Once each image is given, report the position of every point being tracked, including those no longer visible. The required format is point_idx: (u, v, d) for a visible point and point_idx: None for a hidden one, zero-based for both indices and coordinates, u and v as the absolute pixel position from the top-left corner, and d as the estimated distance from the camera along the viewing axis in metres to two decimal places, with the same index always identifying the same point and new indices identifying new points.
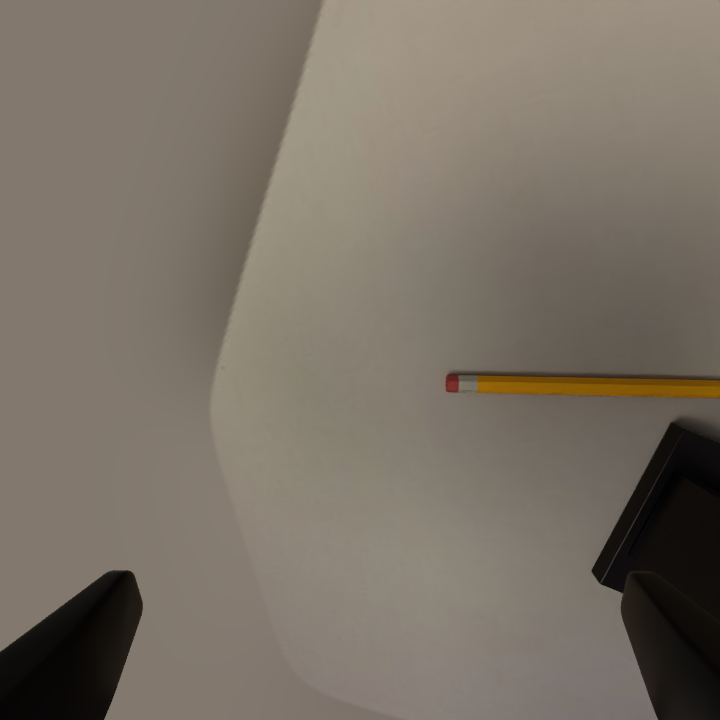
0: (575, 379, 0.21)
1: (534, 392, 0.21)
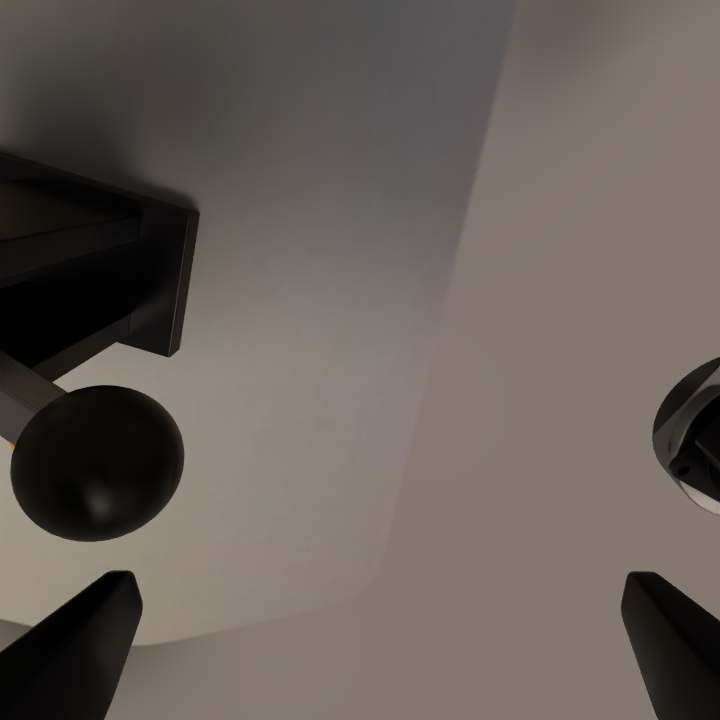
0: None
1: None
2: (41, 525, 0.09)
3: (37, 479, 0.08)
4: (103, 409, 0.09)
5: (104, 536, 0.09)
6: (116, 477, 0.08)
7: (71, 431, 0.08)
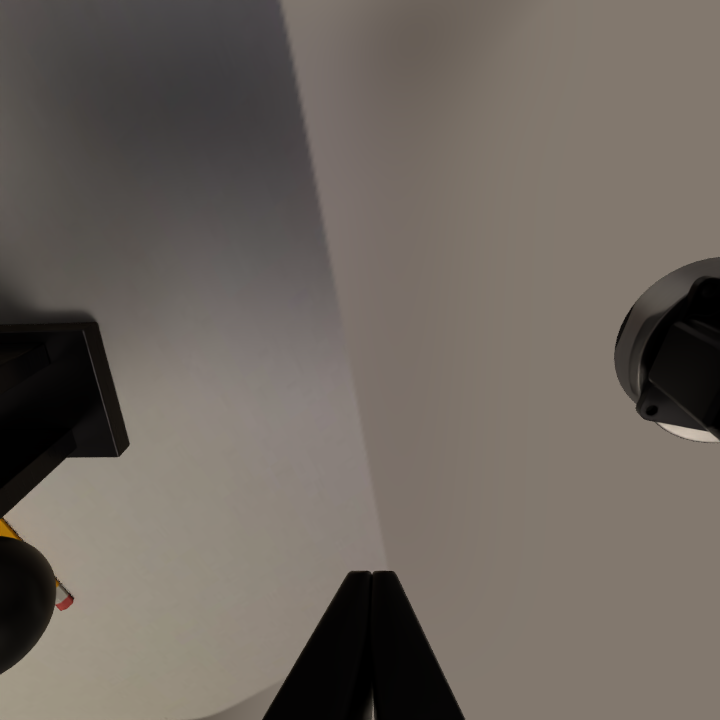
0: None
1: None
2: None
3: None
4: None
5: None
6: None
7: None
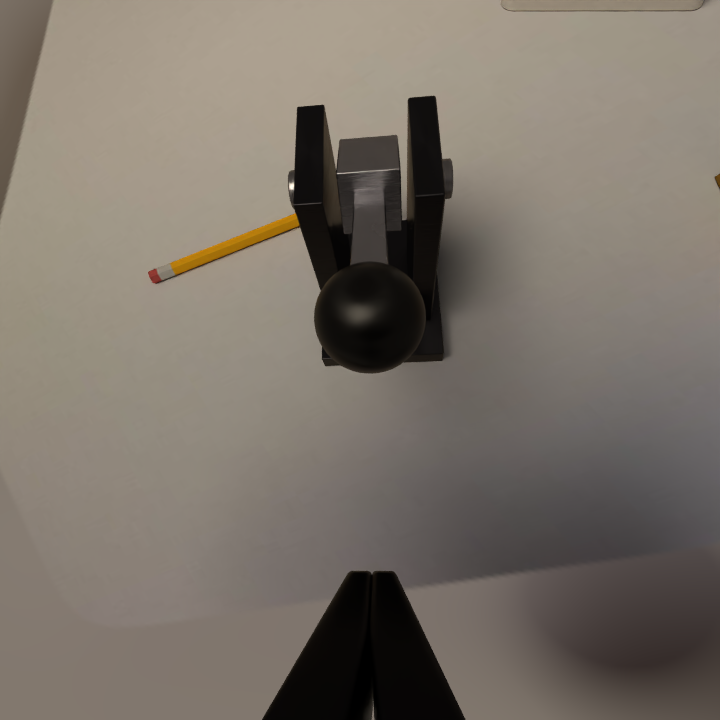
0: None
1: (214, 253, 0.27)
2: (343, 284, 0.12)
3: (382, 278, 0.12)
4: None
5: (339, 325, 0.12)
6: (395, 326, 0.12)
7: (415, 294, 0.12)
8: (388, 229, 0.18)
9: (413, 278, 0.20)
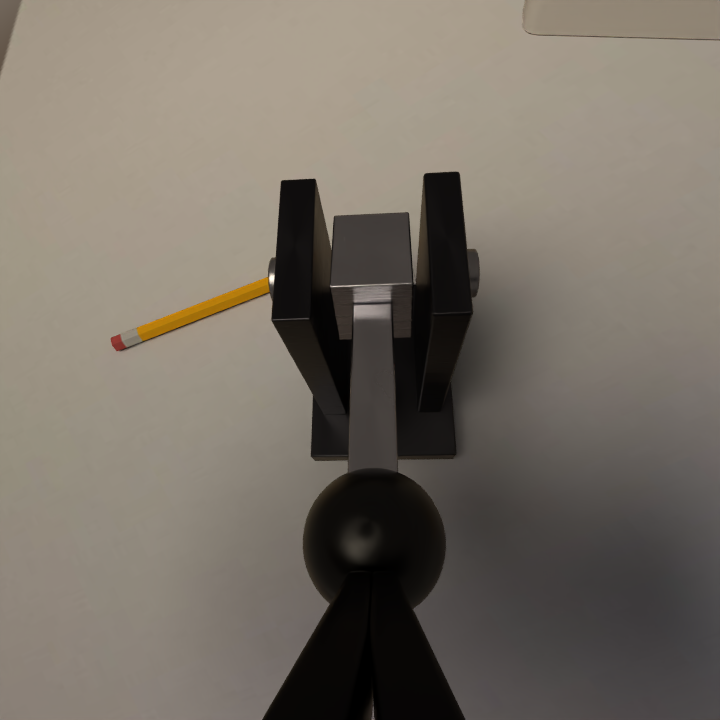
0: None
1: (188, 316, 0.23)
2: (340, 536, 0.09)
3: (393, 529, 0.09)
4: None
5: (335, 591, 0.09)
6: (408, 595, 0.09)
7: (433, 540, 0.09)
8: (395, 336, 0.14)
9: (423, 381, 0.17)
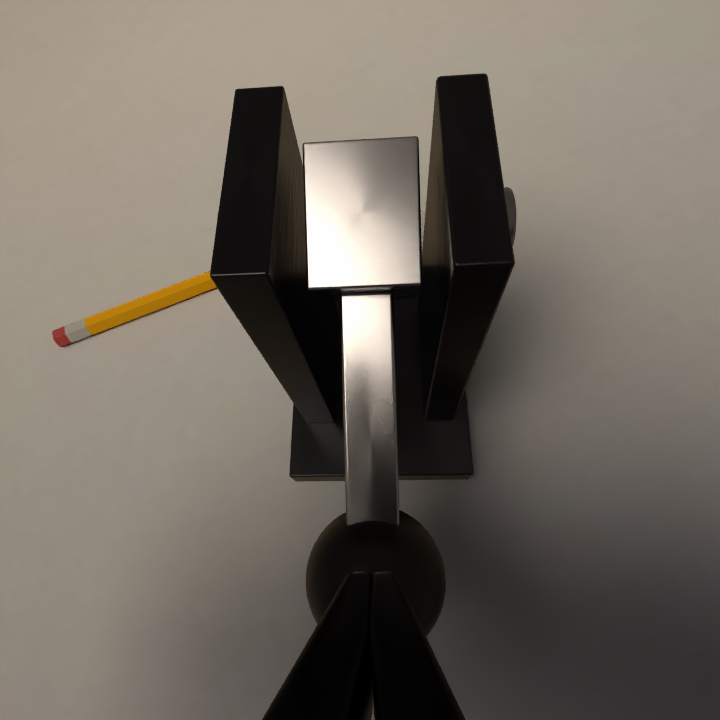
0: None
1: (146, 305, 0.20)
2: None
3: None
4: None
5: None
6: None
7: (435, 608, 0.09)
8: (395, 299, 0.11)
9: (433, 377, 0.12)
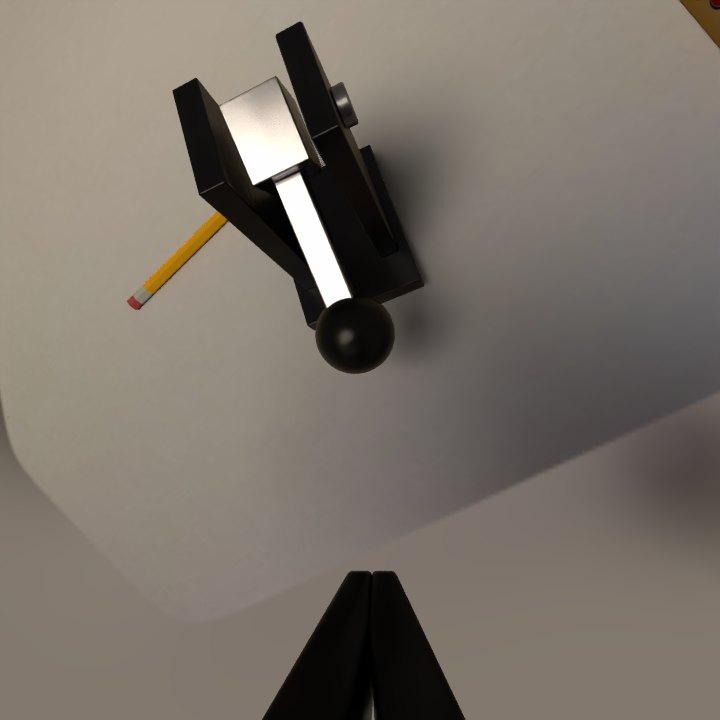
0: None
1: (178, 260, 0.27)
2: (337, 351, 0.17)
3: (362, 338, 0.17)
4: (391, 325, 0.18)
5: (346, 371, 0.18)
6: (381, 358, 0.18)
7: (384, 330, 0.17)
8: (311, 177, 0.18)
9: (357, 217, 0.20)
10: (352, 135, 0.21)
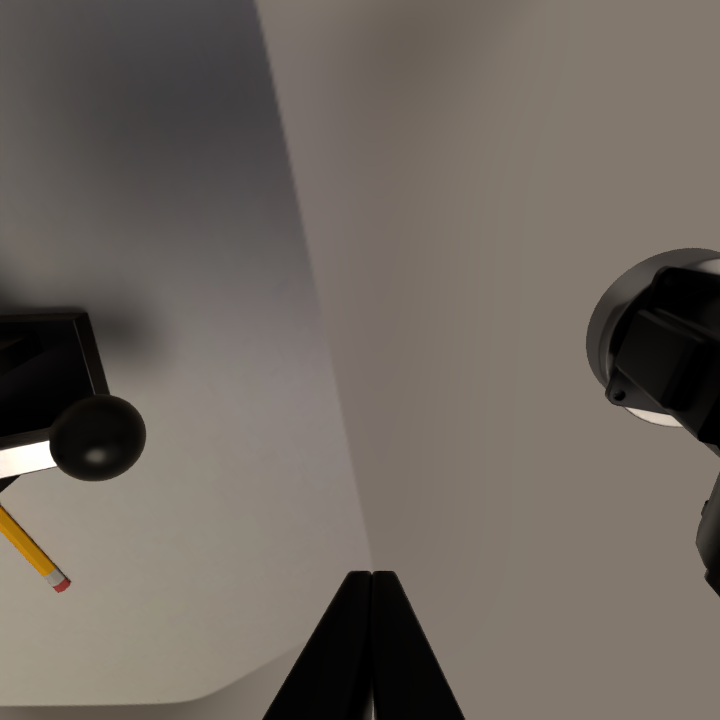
0: None
1: (19, 540, 0.26)
2: (106, 470, 0.16)
3: (95, 445, 0.16)
4: (93, 403, 0.16)
5: (135, 457, 0.17)
6: (128, 422, 0.16)
7: (93, 416, 0.16)
8: None
9: None
10: None
